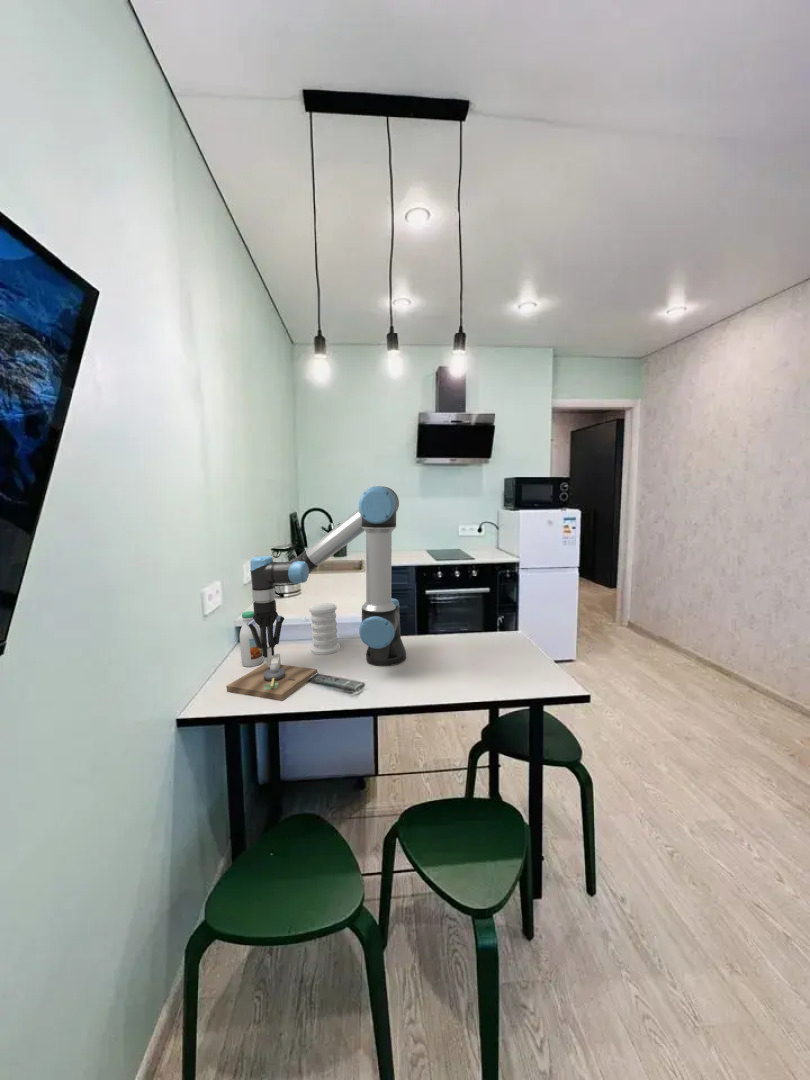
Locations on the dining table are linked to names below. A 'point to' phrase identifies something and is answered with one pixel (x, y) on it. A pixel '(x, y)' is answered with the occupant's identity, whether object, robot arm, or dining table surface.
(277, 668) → the tuning dial
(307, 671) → the board
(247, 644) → the milk bottle
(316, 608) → the decorative container
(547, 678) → the dining table surface
